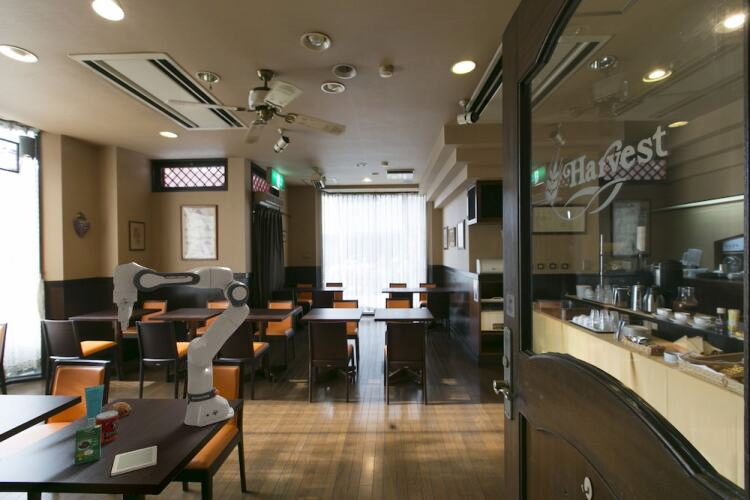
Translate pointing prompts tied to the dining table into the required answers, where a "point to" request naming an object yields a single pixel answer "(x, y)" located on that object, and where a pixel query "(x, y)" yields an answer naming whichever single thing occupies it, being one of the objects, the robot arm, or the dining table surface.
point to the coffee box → (88, 444)
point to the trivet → (134, 460)
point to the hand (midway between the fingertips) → (125, 328)
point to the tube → (93, 403)
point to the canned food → (108, 426)
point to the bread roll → (121, 409)
